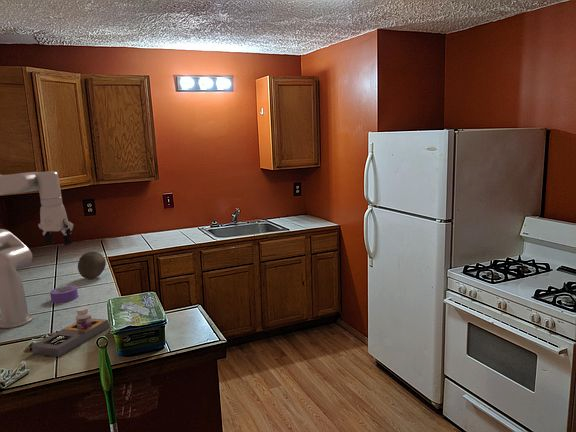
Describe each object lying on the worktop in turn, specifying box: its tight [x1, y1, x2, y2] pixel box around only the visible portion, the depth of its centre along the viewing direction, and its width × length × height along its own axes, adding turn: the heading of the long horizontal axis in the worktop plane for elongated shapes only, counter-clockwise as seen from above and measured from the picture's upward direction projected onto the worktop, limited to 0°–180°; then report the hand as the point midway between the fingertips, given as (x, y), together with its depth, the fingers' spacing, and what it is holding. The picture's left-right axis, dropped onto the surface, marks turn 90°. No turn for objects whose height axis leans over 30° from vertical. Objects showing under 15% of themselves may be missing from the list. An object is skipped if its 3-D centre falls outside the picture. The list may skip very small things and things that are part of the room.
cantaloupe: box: [77, 251, 107, 280], centre depth 247 cm, size 14×14×15 cm
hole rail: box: [31, 318, 110, 358], centre depth 167 cm, size 12×25×3 cm, turn 161°
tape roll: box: [49, 285, 79, 304], centre depth 215 cm, size 12×12×5 cm
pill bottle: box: [75, 306, 93, 329], centre depth 173 cm, size 5×5×10 cm
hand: (58, 244), depth 180 cm, fingers open, 9 cm apart
